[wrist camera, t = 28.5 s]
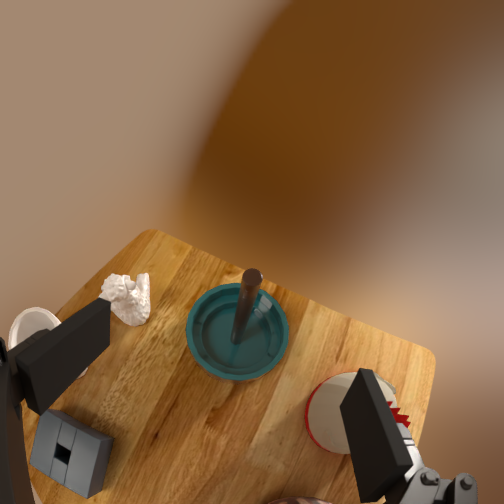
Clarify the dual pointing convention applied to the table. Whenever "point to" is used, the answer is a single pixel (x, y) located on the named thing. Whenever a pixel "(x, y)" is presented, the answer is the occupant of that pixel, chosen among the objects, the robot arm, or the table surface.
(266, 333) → the bowl
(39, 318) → the foam cup
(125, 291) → the white creature statuette
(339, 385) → the kitchen timer
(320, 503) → the pottery
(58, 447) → the holder
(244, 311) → the brown rod
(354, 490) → the table surface
